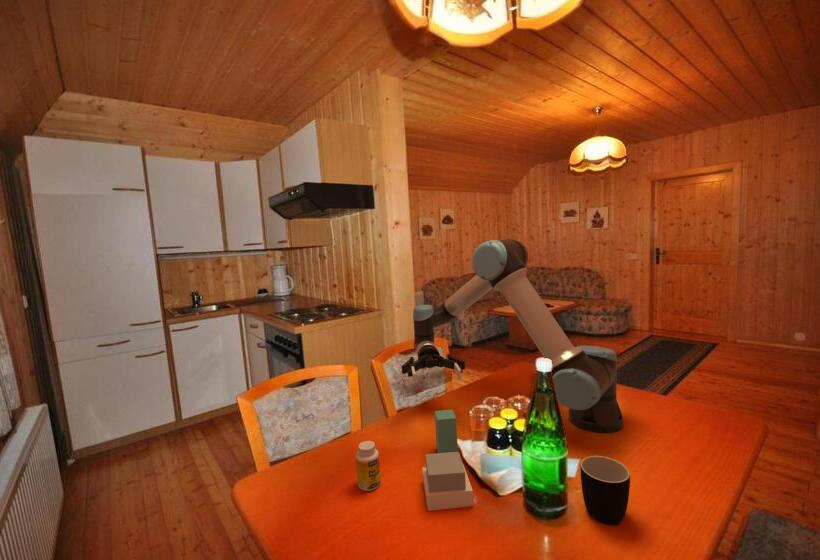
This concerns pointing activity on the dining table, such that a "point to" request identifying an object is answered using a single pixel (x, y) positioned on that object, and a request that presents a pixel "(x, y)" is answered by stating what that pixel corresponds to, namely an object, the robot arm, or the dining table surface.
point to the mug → (605, 489)
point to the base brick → (447, 496)
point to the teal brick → (446, 431)
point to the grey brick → (445, 472)
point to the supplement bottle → (368, 466)
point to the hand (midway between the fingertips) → (437, 376)
